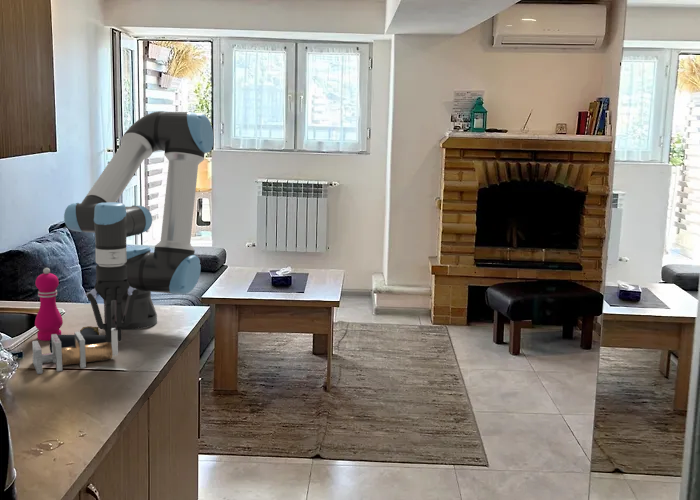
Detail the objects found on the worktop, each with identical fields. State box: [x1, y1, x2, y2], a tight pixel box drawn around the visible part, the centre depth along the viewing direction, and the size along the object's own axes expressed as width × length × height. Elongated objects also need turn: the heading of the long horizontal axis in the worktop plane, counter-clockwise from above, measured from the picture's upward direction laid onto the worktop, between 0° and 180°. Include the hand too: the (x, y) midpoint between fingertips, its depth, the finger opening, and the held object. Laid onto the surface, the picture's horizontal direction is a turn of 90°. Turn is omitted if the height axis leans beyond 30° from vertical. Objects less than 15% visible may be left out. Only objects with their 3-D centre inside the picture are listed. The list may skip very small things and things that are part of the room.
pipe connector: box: [49, 325, 107, 353], centre depth 199 cm, size 12×5×15 cm
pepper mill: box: [34, 267, 64, 342], centre depth 206 cm, size 7×7×20 cm
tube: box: [61, 342, 113, 367], centre depth 188 cm, size 12×4×4 cm, turn 120°
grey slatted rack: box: [31, 331, 87, 375], centre depth 185 cm, size 11×9×7 cm
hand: (114, 353), depth 191 cm, fingers closed
